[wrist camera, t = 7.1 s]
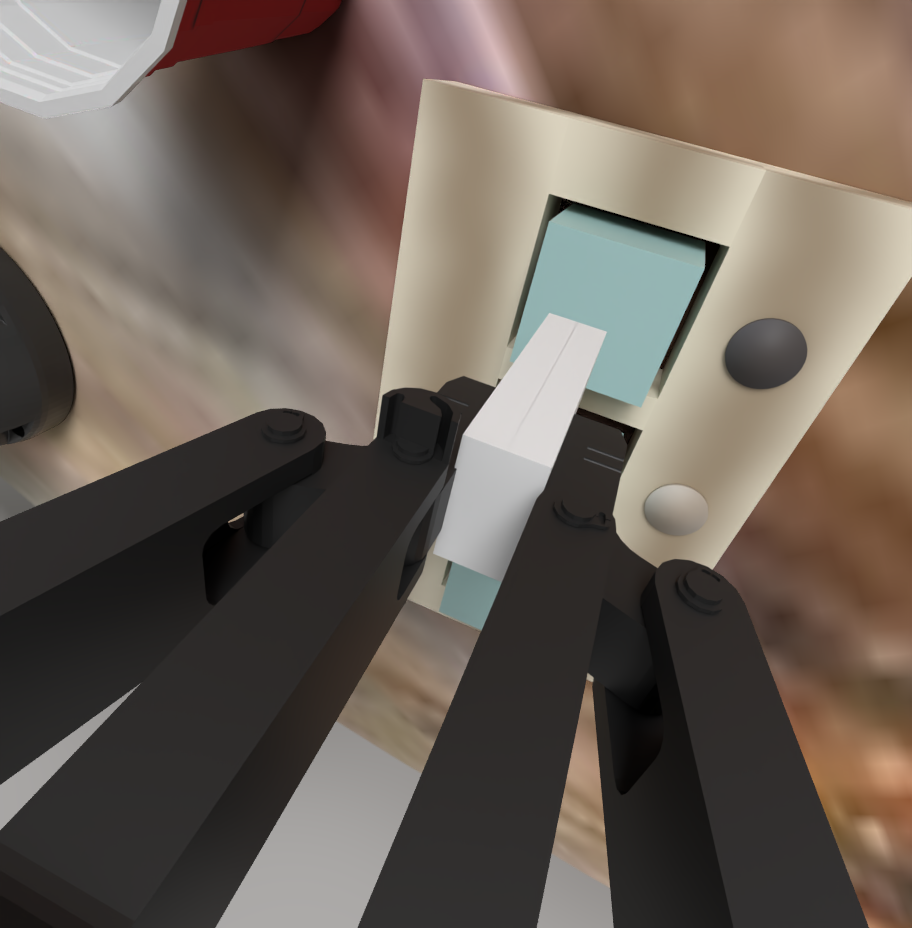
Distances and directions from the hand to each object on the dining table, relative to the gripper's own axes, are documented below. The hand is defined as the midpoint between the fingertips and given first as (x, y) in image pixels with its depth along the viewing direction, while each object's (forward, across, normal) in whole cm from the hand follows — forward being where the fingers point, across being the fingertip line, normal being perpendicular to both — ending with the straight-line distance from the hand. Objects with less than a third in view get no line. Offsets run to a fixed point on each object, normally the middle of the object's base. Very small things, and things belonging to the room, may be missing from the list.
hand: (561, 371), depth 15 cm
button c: (+9, 0, 0) cm, 9 cm away
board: (+10, 0, -7) cm, 12 cm away
